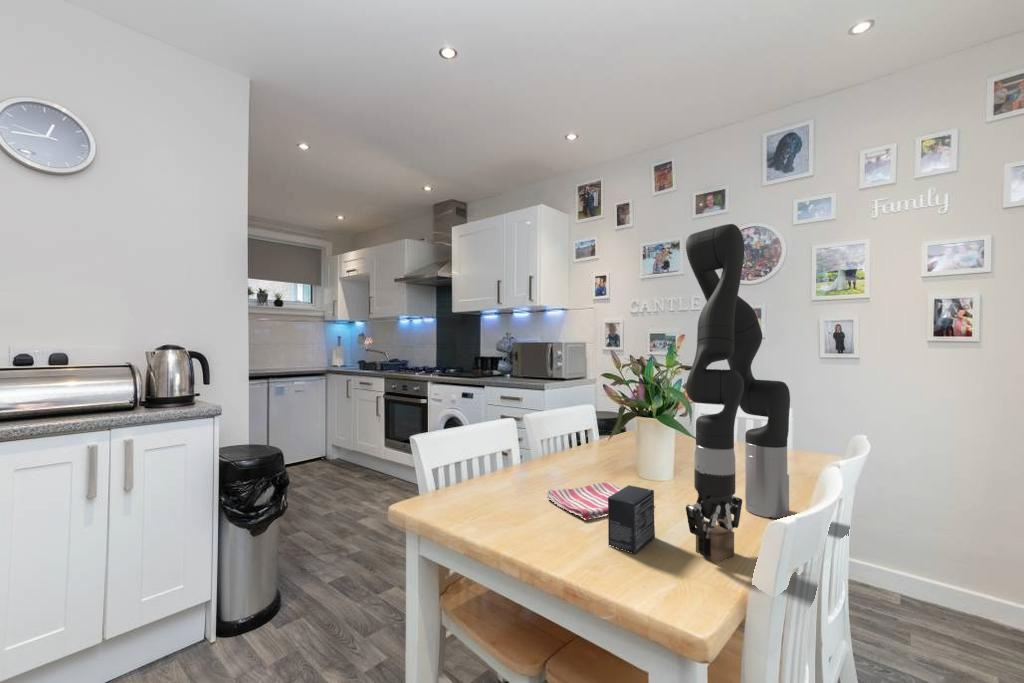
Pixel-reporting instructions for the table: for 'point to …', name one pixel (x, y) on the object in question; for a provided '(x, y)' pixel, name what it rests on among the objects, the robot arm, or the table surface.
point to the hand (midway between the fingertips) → (714, 552)
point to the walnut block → (720, 543)
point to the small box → (631, 518)
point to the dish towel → (585, 499)
